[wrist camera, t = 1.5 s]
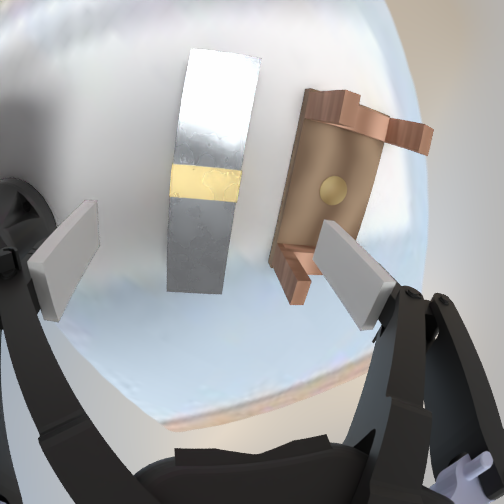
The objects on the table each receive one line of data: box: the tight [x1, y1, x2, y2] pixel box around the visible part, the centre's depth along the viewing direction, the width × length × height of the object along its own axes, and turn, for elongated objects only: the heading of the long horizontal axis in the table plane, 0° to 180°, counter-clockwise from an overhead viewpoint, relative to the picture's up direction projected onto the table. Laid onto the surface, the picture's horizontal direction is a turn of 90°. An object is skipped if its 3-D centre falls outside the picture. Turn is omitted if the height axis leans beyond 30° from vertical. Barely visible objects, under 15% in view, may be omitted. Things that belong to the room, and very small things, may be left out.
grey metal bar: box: [167, 48, 262, 294], centre depth 27 cm, size 24×6×6 cm, turn 170°
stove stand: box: [268, 88, 434, 305], centre depth 29 cm, size 11×22×10 cm, turn 170°
